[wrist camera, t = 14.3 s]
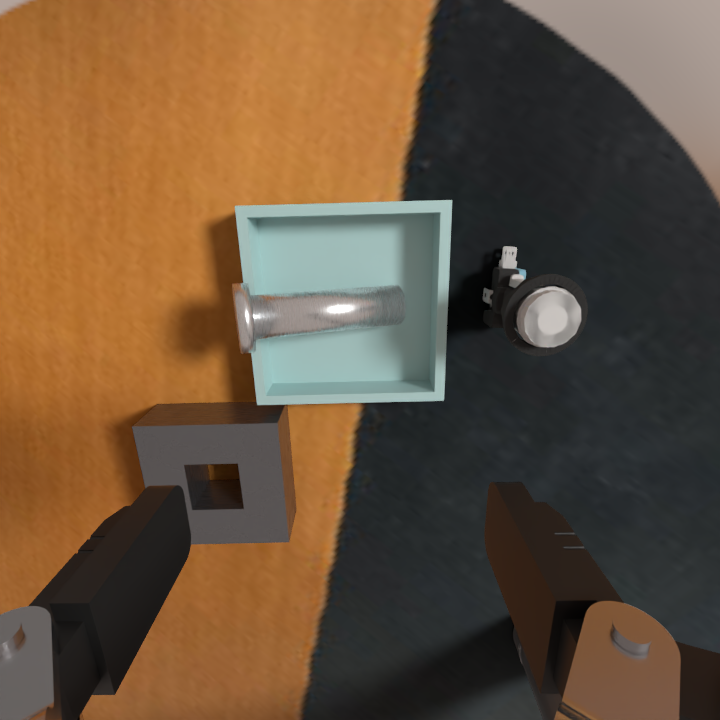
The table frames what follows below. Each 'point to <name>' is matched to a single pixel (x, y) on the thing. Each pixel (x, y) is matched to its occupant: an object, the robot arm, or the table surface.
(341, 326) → the steel pin
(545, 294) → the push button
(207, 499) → the hitch block
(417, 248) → the tray
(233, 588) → the table surface
